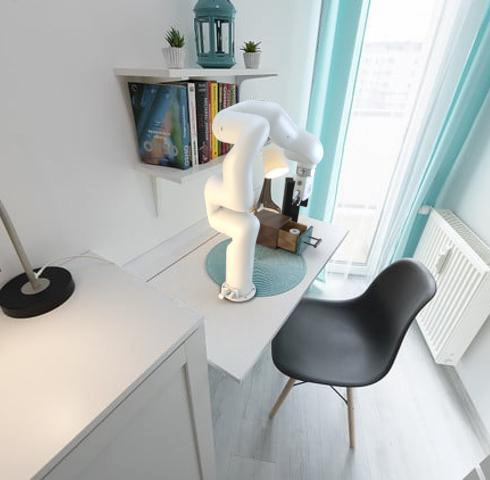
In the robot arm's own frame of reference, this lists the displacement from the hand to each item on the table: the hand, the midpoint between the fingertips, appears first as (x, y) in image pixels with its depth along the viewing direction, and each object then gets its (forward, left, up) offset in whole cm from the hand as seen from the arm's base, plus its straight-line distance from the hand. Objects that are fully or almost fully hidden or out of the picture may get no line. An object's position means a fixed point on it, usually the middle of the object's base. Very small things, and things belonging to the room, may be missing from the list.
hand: (299, 209), depth 125 cm
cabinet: (0, +14, -19) cm, 23 cm away
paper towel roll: (0, +1, -17) cm, 17 cm away
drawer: (0, -1, -18) cm, 18 cm away
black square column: (+19, +12, -19) cm, 30 cm away
